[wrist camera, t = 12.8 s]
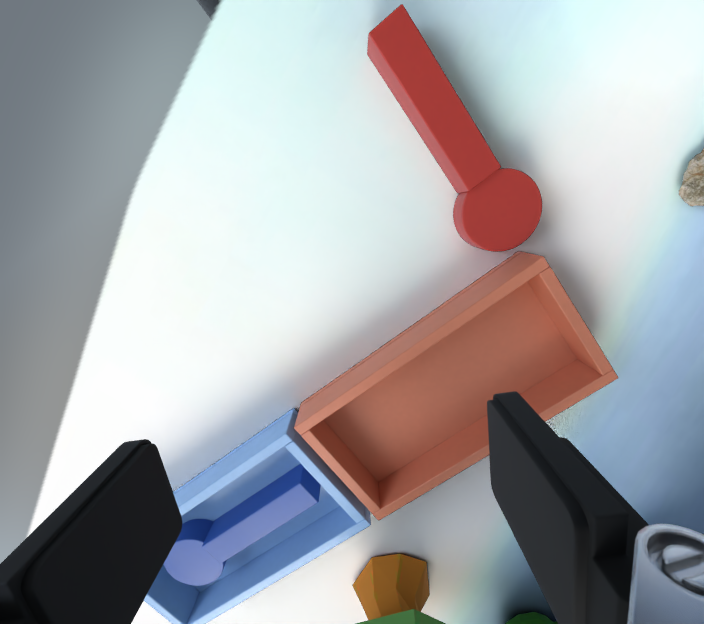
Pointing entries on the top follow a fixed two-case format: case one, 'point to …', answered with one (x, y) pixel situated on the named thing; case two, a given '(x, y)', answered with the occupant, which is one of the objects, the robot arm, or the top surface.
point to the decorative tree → (394, 590)
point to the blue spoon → (239, 527)
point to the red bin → (453, 384)
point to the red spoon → (454, 140)
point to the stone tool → (694, 182)
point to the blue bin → (276, 547)
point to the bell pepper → (530, 619)
